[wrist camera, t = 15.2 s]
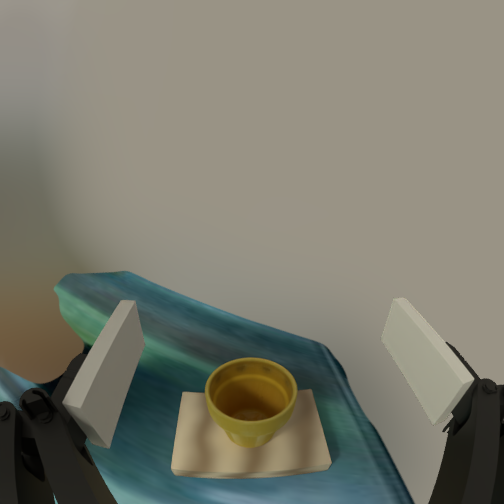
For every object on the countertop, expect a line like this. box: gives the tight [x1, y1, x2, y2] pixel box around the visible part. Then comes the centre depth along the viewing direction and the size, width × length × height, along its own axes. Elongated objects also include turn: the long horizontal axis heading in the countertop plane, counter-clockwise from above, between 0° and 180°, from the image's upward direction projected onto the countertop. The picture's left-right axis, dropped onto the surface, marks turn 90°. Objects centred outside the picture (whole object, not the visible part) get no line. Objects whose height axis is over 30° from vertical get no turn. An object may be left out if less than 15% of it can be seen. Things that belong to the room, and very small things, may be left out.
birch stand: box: [171, 389, 332, 479], centre depth 32 cm, size 20×14×2 cm
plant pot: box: [205, 358, 297, 448], centre depth 30 cm, size 10×10×10 cm
